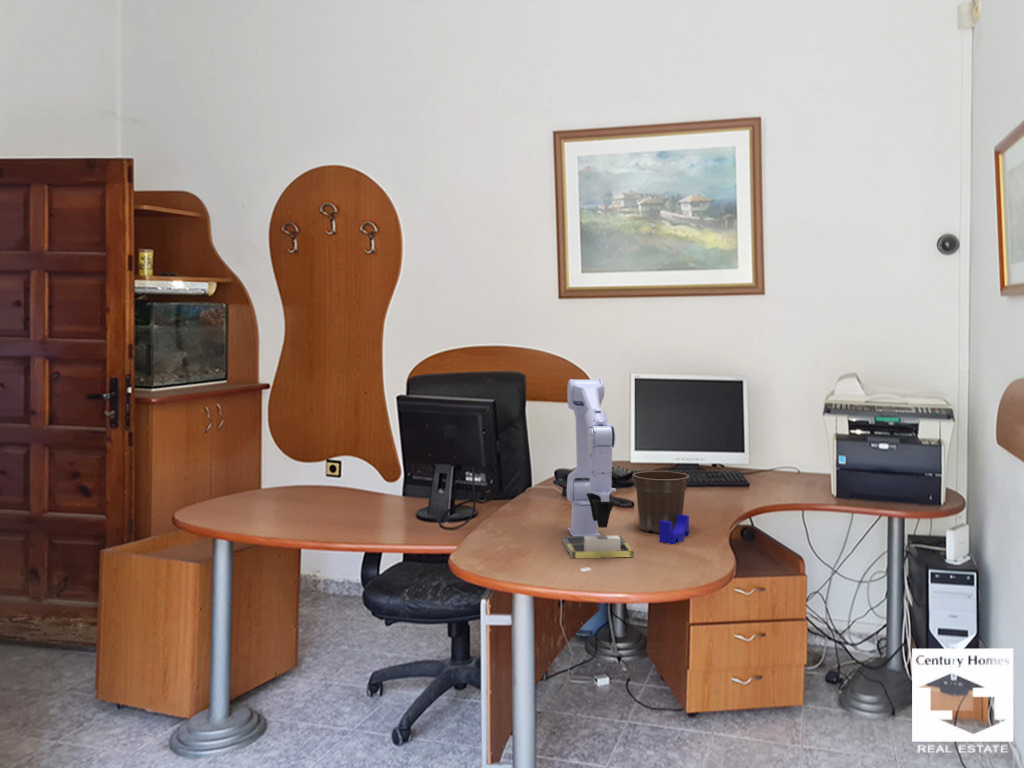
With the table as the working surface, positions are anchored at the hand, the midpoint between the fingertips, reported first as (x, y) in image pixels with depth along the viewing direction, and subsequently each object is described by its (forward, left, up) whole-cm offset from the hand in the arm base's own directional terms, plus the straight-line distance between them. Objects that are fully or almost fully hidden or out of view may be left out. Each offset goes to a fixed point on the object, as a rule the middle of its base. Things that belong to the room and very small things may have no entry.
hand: (599, 523), depth 229 cm
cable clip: (-14, +24, -8) cm, 29 cm away
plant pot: (-27, +23, -8) cm, 36 cm away
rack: (-4, 0, -8) cm, 9 cm away
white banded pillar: (0, +1, -8) cm, 8 cm away
